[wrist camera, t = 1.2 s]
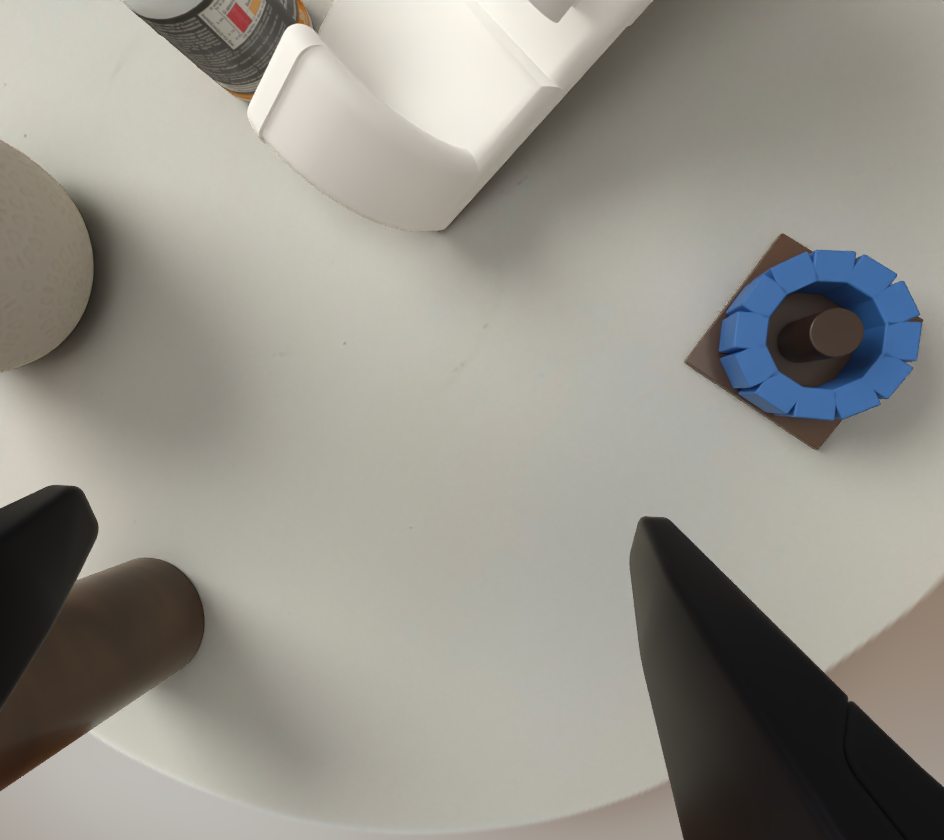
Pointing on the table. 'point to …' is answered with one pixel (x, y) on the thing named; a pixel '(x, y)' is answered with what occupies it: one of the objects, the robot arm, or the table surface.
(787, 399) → the tape roll
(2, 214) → the planter
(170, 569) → the pedestal
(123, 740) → the table surface
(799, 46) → the table surface
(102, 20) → the table surface
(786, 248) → the peg stand
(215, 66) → the pill bottle
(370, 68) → the tape dispenser
